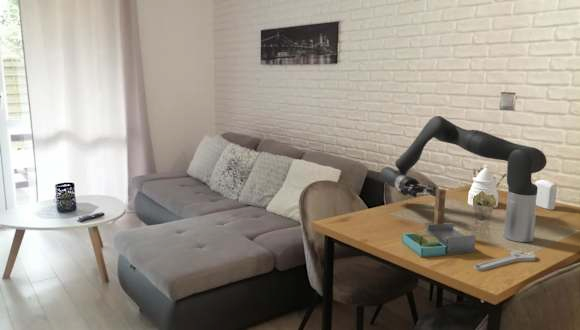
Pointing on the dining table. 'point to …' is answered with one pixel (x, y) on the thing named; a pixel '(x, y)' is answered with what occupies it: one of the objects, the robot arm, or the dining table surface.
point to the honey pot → (483, 185)
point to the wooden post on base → (439, 206)
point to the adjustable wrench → (505, 260)
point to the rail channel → (452, 238)
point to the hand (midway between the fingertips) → (425, 194)
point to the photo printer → (546, 194)
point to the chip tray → (426, 251)
